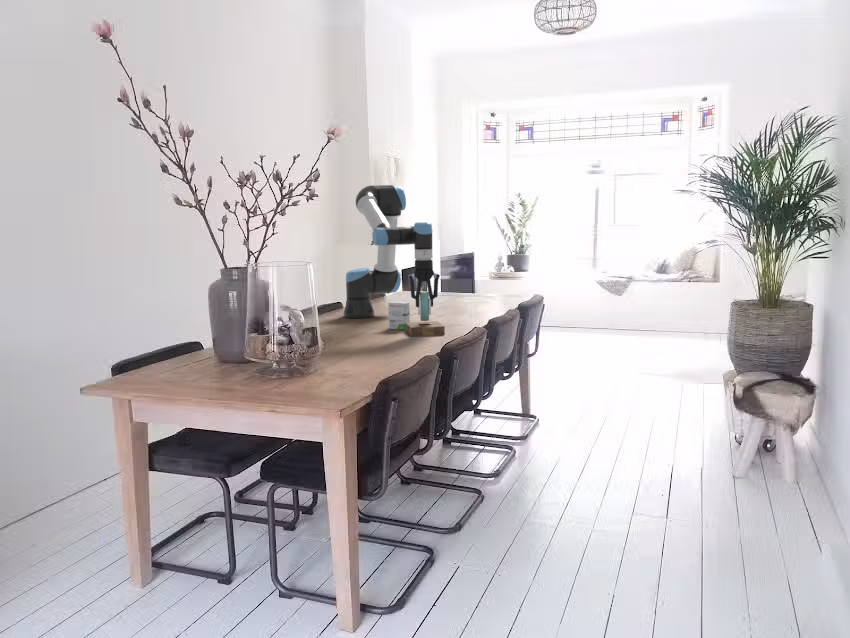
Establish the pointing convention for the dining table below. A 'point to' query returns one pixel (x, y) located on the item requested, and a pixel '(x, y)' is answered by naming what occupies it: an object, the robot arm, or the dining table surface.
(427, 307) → the peg
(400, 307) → the ink box
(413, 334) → the socket
